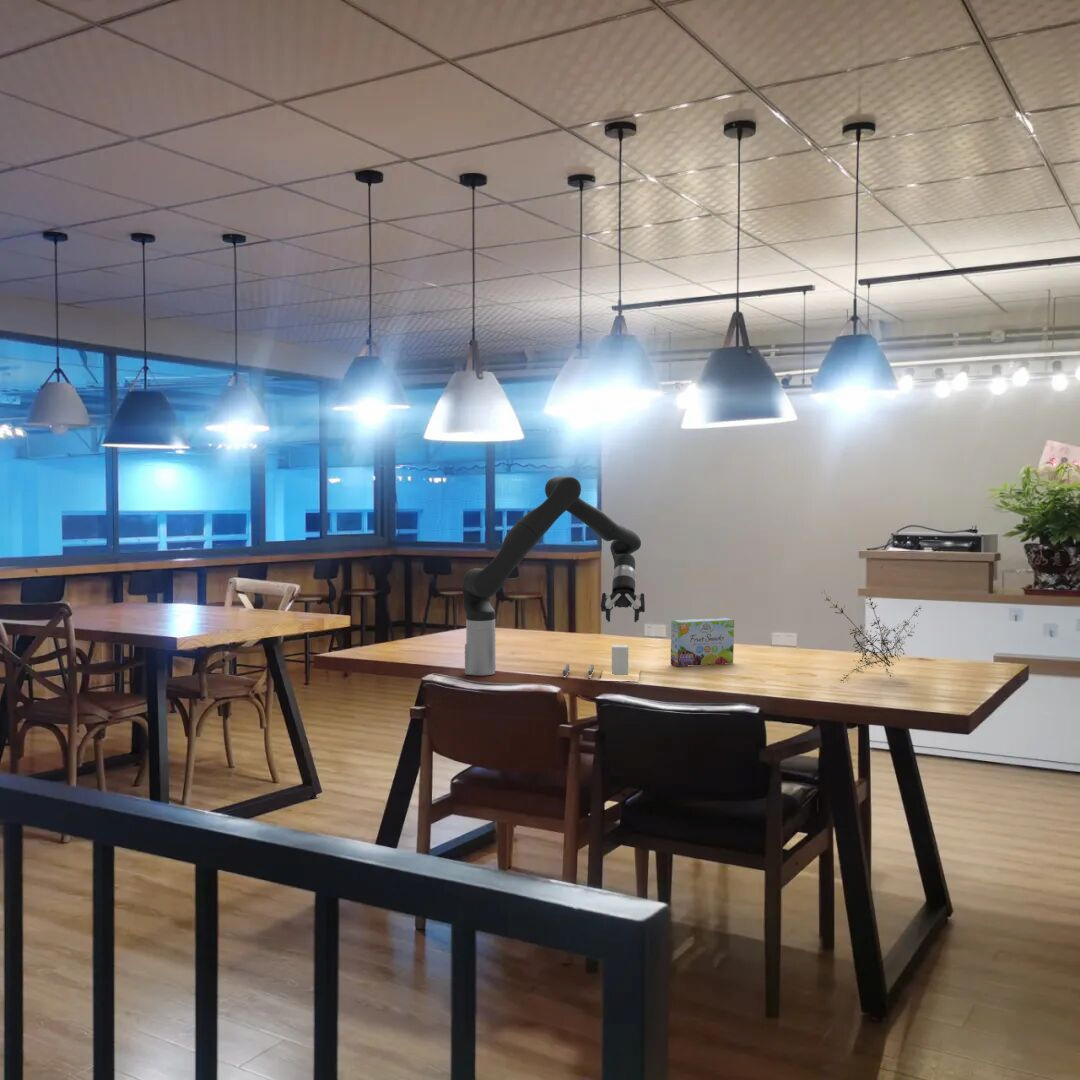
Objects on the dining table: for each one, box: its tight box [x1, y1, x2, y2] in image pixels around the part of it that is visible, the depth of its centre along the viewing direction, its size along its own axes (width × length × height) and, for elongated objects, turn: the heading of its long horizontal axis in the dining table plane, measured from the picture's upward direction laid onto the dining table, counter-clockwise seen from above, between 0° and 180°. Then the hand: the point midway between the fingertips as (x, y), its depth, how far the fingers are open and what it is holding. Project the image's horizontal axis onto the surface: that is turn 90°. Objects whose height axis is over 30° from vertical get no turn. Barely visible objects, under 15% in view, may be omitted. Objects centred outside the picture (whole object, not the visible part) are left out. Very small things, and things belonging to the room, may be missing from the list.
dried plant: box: [821, 588, 922, 683], centre depth 310 cm, size 30×31×45 cm
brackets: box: [562, 663, 595, 677], centre depth 331 cm, size 9×12×2 cm
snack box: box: [670, 617, 735, 667], centre depth 351 cm, size 21×6×15 cm, turn 112°
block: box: [611, 644, 630, 675], centre depth 329 cm, size 5×5×9 cm
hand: (622, 620), depth 339 cm, fingers open, 8 cm apart
